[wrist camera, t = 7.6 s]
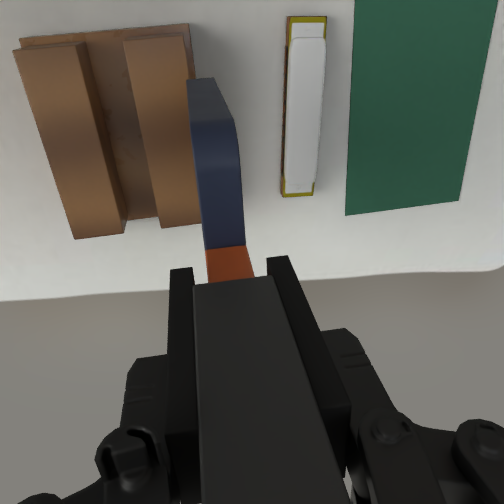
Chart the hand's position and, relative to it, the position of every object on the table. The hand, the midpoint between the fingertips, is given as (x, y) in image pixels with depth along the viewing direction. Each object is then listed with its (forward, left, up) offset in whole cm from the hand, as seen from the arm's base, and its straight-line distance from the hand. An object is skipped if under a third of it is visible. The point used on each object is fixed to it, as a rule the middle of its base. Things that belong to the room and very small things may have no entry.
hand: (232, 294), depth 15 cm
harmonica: (+9, 0, -24) cm, 26 cm away
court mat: (+19, 0, -24) cm, 31 cm away
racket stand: (-6, 0, -24) cm, 25 cm away
